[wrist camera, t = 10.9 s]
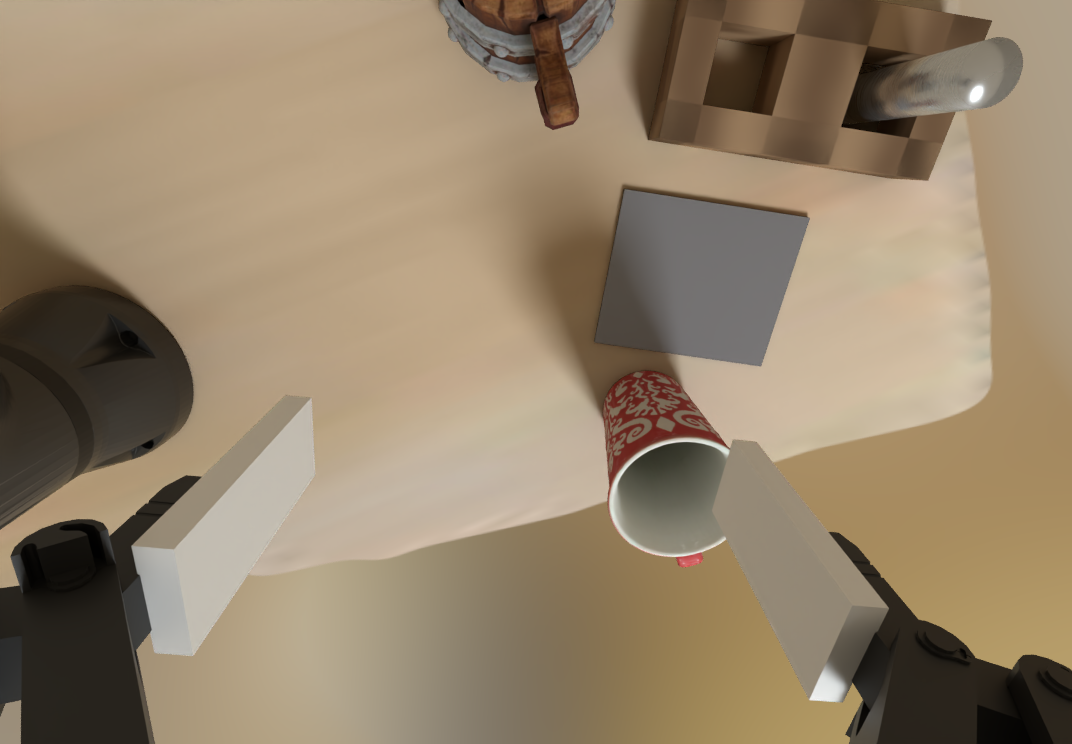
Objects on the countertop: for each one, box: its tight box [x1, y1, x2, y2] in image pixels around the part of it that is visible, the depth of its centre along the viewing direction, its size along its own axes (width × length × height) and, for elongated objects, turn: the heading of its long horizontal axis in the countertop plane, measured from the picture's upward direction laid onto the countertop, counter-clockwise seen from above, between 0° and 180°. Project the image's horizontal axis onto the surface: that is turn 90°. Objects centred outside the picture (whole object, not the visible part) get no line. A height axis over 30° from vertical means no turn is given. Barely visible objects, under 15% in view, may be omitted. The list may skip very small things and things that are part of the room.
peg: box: [842, 37, 1023, 124], centre depth 31 cm, size 3×3×12 cm
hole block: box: [648, 0, 992, 180], centre depth 34 cm, size 18×9×4 cm, turn 82°
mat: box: [594, 189, 810, 366], centre depth 41 cm, size 14×12×1 cm
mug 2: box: [603, 371, 730, 567], centre depth 40 cm, size 13×9×14 cm
